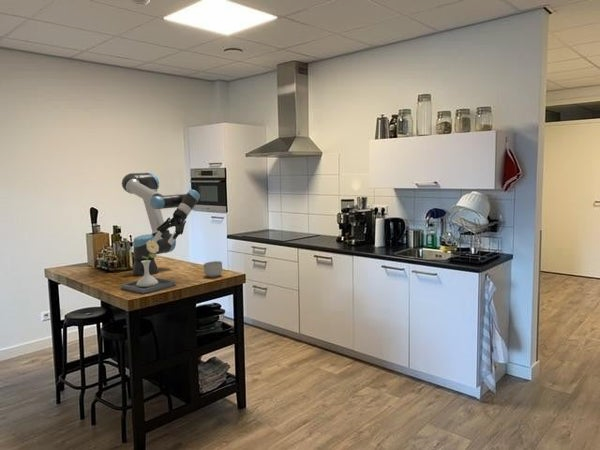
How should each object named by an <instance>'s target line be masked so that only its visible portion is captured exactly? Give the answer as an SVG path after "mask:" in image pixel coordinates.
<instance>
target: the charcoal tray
mask: <svg viewBox="0 0 600 450" xmlns="http://www.w3.org/2000/svg"><path fill="white" fill-rule="evenodd" d="M153 277H154V276H153ZM154 278H155V279H156V280H158V284H157V285H155V286H152V287H139V286H137V285H136V284H137V282H138V281H139V280H140V279H139V280H134V281H130V282H126V283H122V284H120V290H122V291H123V290H124V291H127V290H128V292H131V291H133V292H132V293H136V292H137V293H136V294H140V293H141V295H146V294H147V295H148V294H150V293H154V292H158V291H161V290H166V289H169V288H172V287H176V281H175V280H170V279H165V278H159V277H154Z"/></svg>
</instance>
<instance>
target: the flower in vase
mask: <svg viewBox="0 0 600 450" xmlns="http://www.w3.org/2000/svg"><path fill="white" fill-rule="evenodd" d="M146 245H147V246H146V247H147V249H148V251H149V252H151V253H152V254H150V253H149V256H150V257H151V258H154V259H155V258H156V257H157V254H156V255H155V254H153V253H157V252H158V251H159V246H158V244H157V243H155V241H153V240H152V241H151V240H149V241H148V242H147V244H146ZM156 251H157V252H156ZM149 256H148V257H149ZM148 257H145V256H142V258H146V259H147V260H145V261H141V262H142V264H143V266H144V276H142V277H141V278H139V281H138V280H137V281H138V282H137V284H136V285H137V286H139V287H152V286H155V285H157V284H158V280H156V279H155V278H156V277H155V278H154V276H152V275H150V274H149V264H150V262H151V261H150V260H148Z"/></svg>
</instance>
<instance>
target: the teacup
mask: <svg viewBox="0 0 600 450" xmlns="http://www.w3.org/2000/svg"><path fill="white" fill-rule="evenodd" d="M203 269H204V274H205V275H206V276H207V277H209V278H215V277H216V278H217V277H219V276H221V274H222V273H223V262H222V261H221V260H220V261H219V260H214V261H209V262H204V263H203Z"/></svg>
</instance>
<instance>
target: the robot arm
mask: <svg viewBox="0 0 600 450" xmlns="http://www.w3.org/2000/svg"><path fill="white" fill-rule="evenodd" d="M121 187H122V188H123V191H125V192H127V193H128V194H132V195H135V196H137V197H139V198H140V199H142V201H143V204H144V207H145V211H146V215H147V218H148V221H149V224H150V225H149V226H150V228H151V231H152V232H151V234H150V233H149V234H142V235H138V236H136V237H134V239H133V243H132V245H133V257H134V259H133V260H134V262H133V268H132V271H131V273H132V275H133V276H135V277H141V276H142V277H143V276H144V266H143V264H142V262H141V261H145V260H147V259H146V258H142V256H145V257H148V256H149V253H150V254H152V253H151V252H149V251H148V249H147V247H146V246H147V245H146V244H147V242H148V241H149V240H151V241H152V240H153V241H155V243H157V244H158V246H159V251H158V252H157V251H156V252H157V253H153V254H155V255H156V256H157V255H160V254H168V253H172V252H173V251H174V250H175V248H176V244H177V240H176V239H177V238H178V236H180V235H183V233H184V229H185V225H186V223H187V220H186V219H187V218H188V216H189V215H190V213H191V211H192V210H193V209H194V207H195V206H196V204H197V203H198V202H199V200H200V199H201V194H200V193H199V192H198V191H197V190H195V189H189V190H188V191H187V193H184V194H179V193H178V194H169V195H167V194H165V195H163V194H161V193H159V192H158V189H159V188H160V182H159V178H158V177H157V175H156V174H155V173H152V172H138V173H137V172H135V173H134V172H132V173H128V174H126V175H125V176H124V177H123V178H122V181H121ZM175 208H176V209H175ZM164 209H175V210H174V212H173V213H172V218H171V217H167V219H166V220H164V217H163V214H162V210H164ZM173 227H175V230H174V232H173V233H171V231H170V230H169V229H170V228H173ZM148 260H150V261H151V262H150V264H149V274H150V275H151V276H152V275H156V274H158V273H159V268H158V265H157V263H156V260H155V257H154V258H151V257H150V256H149V257H148Z"/></svg>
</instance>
